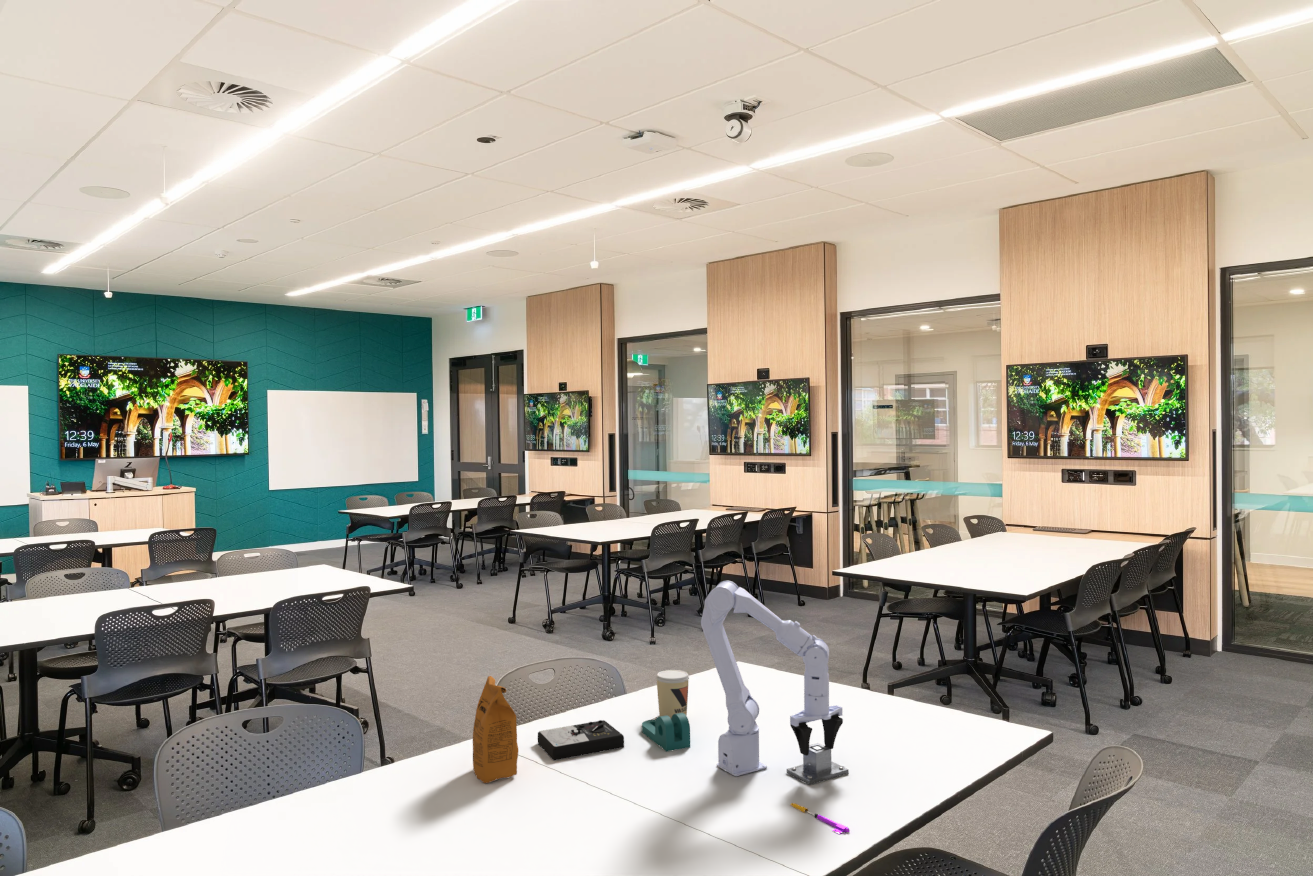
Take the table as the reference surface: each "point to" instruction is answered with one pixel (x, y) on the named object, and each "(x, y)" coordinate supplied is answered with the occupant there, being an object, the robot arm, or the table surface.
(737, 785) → the table surface
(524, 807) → the table surface
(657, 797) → the table surface
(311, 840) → the table surface
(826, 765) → the tube
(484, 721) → the coffee package
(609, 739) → the black printed box
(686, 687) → the coffee cup
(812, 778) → the plate
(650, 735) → the bracket
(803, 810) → the purple and orange rod
